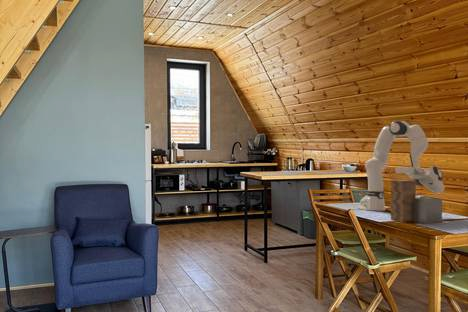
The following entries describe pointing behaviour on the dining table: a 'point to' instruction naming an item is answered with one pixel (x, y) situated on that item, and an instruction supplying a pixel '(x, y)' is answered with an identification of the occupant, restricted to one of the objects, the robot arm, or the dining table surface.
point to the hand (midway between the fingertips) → (413, 169)
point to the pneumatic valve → (419, 196)
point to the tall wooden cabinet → (402, 199)
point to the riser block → (427, 210)
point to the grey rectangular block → (406, 169)
